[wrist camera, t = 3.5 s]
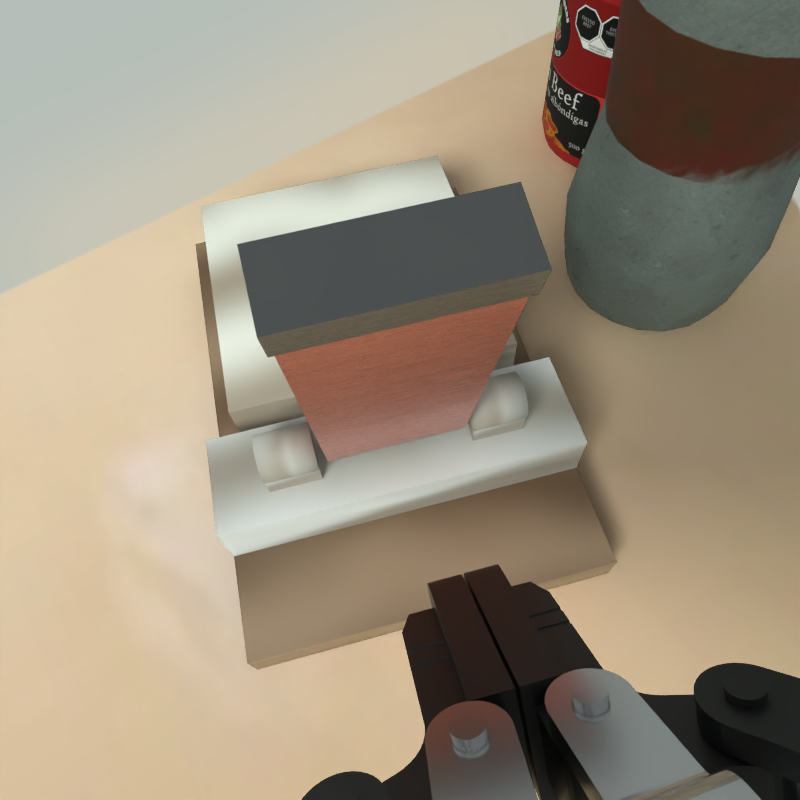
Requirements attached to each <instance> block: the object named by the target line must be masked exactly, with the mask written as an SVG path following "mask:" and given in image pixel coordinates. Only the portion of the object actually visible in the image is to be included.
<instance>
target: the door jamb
mask: <svg viewBox="0 0 800 800" xmlns="http://www.w3.org/2000/svg"><path fill="white" fill-rule="evenodd" d="M455 196H459V195H458V193H457V191H456V188H451V187H450V185H449V182H448V180H447V178H446V175H445V173H444V171H443V168H442V166H441V164H440V161H439V159H438V157H437V156H434V157H429V158H425V159H420V160H415V161H411V162H406V163H401V164H397V165H392V166H387V167H383V168H378V169H373V170H368V171H364V172H359V173H354V174H350V175H345V176H340V177H336V178H331V179H326V180H322V181H317V182H312V183H308V184H303V185H298V186H293V187H289V188H284V189H279V190H275V191H270V192H265V193H261V194H256V195H251V196H247V197H242V198H237V199H233V200H228V201H223V202H218V203H214V204H209V205H204V206H201V212H202V219H203V227H204V234H205V242H203V243H199V244H196V252H197V260H198V268H199V276H200V284H201V292H202V300H203V308H204V316H205V325H206V333H207V341H208V349H209V357H210V365H211V373H212V381H213V389H214V397H215V405H216V413H217V421H218V430H219V438H214V439H210V440H206V445H207V454H208V463H209V472H210V481H211V490H212V499H213V508H214V517H215V526H216V535H217V538H218V539H219V540H220V541H221V543H222V544H223V545H224V546H225V547H226V548H227V549H228V550H229V551H230V552H231V553H232V555H233V556H234V559H235V567H236V575H237V583H238V591H239V599H240V607H241V615H242V623H243V631H244V639H245V648H246V656H247V663H248V664H250V665H251V666H253V667H255V668H256V669H260V668H264V667H268V666H271V665H275V664H279V663H282V662H286V661H289V660H293V659H297V658H300V657H304V656H308V655H311V654H315V653H319V652H322V651H326V650H330V649H333V648H337V647H340V646H344V645H348V644H351V643H355V642H359V641H362V640H366V639H370V638H373V637H377V636H380V635H384V634H388V633H391V632H395V631H399V630H402V629H404V626H405V623H406V620H407V618H408V615H409V614H412V613H416V612H420V611H423V610H427V609H431V608H432V605H431V601H430V596H429V592H428V587H427V583H429V582H433V581H437V580H440V579H444V578H448V577H452V576H455V575H459V574H462V576H463V574H464V573H466V572H470V571H474V570H477V569H481V568H485V567H488V566H492V565H496V564H498V565H499V566H500V567H501V569H502V571H503V572H504V574H505V576H506V578H507V579H508V581H509V583H510V584H511V586H515V585H518V584H522V583H526V582H529V581H531V582H532V583H534V584H536V585H538V586H539V587H541V588H543V589H545V590H548V589H551V588H555V587H559V586H562V585H566V584H570V583H573V582H577V581H581V580H584V579H588V578H592V577H595V576H599V575H602V574H606V573H608V572H609V571H610V570H611V569H612V567H613V566H614V565H615V564H616V563H617V561H616V559H615V556H614V554H613V552H612V549H611V547H610V545H609V542H608V540H607V538H606V536H605V533H604V531H603V529H602V526H601V524H600V522H599V519H598V517H597V515H596V512H595V510H594V508H593V505H592V503H591V501H590V498H589V496H588V494H587V492H586V489H585V487H584V485H583V482H582V480H581V478H580V475H579V473H578V471H577V468H576V467H577V465H578V462H579V460H580V458H581V456H582V454H583V451H584V449H585V447H586V445H587V440H586V438H585V435H584V433H583V431H582V429H581V427H580V424H579V422H578V420H577V418H576V416H575V413H574V411H573V409H572V407H571V404H570V402H569V400H568V398H567V396H566V393H565V391H564V389H563V387H562V385H561V382H560V380H559V378H558V376H557V374H556V371H555V369H554V367H553V365H552V362H551V360H550V358H549V357H547V358H543V359H539V360H535V361H531V362H530V360H529V357H528V355H527V353H526V350H525V348H524V346H523V343H522V341H521V339H520V336H519V334H518V332H517V330H516V327H514V329H513V331H512V333H511V335H510V337H509V339H508V341H507V343H506V345H505V347H504V349H503V351H502V353H501V355H500V357H499V359H498V361H497V363H496V366H495V368H494V370H493V372H492V374H491V376H490V378H489V380H488V382H487V384H486V386H485V388H484V390H483V392H482V394H481V396H480V398H479V400H478V402H477V404H476V406H475V408H474V410H473V412H472V414H471V417H470V419H469V421H468V423H467V425H466V427H464V428H460V429H459V430H455V431H451V432H447V433H443V434H439V435H435V436H431V437H427V438H423V439H419V440H415V441H411V442H407V443H403V444H399V445H395V446H391V447H387V448H383V449H379V450H375V451H371V452H367V453H363V454H359V455H355V456H351V457H347V458H343V459H339V460H335V461H328V460H327V459H326V457H325V455H324V453H323V451H322V449H321V447H320V445H319V443H318V441H317V439H316V437H315V435H314V433H313V431H312V429H311V427H310V425H309V423H308V421H307V419H306V417H305V415H304V413H303V411H302V409H301V407H300V405H299V403H298V401H297V400H296V398H295V396H294V394H293V392H292V390H291V388H290V386H289V384H288V382H287V380H286V378H285V376H284V374H283V372H282V370H281V368H280V366H279V364H278V362H277V360H276V358H275V356H273V357H269V358H268V357H267V355H266V354H265V352H264V350H263V348H262V346H261V344H260V343H259V341H258V339H257V336H256V331H255V326H254V322H253V317H252V312H251V307H250V303H249V298H248V293H247V289H246V284H245V279H244V275H243V270H242V265H241V260H240V256H239V251H238V246H237V244H240V243H245V242H249V241H254V240H258V239H263V238H267V237H272V236H277V235H281V234H286V233H290V232H295V231H299V230H304V229H309V228H313V227H318V226H322V225H327V224H331V223H336V222H340V221H345V220H350V219H354V218H359V217H363V216H368V215H372V214H377V213H382V212H386V211H391V210H395V209H400V208H404V207H409V206H413V205H418V204H423V203H427V202H432V201H436V200H441V199H445V198H450V197H455ZM463 578H464V576H463Z"/></svg>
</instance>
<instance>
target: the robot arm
mask: <svg viewBox="0 0 800 800" xmlns="http://www.w3.org/2000/svg"><path fill="white" fill-rule="evenodd" d="M463 576H464V578H463ZM463 576H462V574H459V575H455V576H452V577H448V578H444V579H440V580H437V581H433V582H429V583H427V587H428V592H429V596H430V601H431V605H432V608H431V609H427V610H423V611H420V612H416V613H412V614H409V615H408V618H407V620H406V623H405V626H404V629H403V631H402V634H403V638H404V642H405V646H406V650H407V655H408V659H409V663H410V667H411V671H412V675H413V679H414V683H415V687H416V692H417V696H418V700H419V704H420V708H421V712H422V716H423V720H424V724H425V737H424V741H423V744H422V747H421V749H420V751H419V752H418V754H417V755H416V757H415V758H414V759H413V760H412V761H411V763H410V764H408V765H407V766H406V767H405V768H404V769H403V770H401V771H400V772H398V773H397V774H395V775H394V776H392V777H391V778H389V779H387V780H386V781H384V782H383V783H381V782H380V781H379V780H378V779H377V778H375V777H374V776H372V775H370V774H367V773H363V772H355V771H351V772H343V773H339V774H336V775H333V776H331V777H328V778H326V779H325V780H323V781H321V782H320V783H318V784H317V785H315V786H314V787H313V788H312V789H311V790H310V791H309V792H308V793H307V794H306V795H305V796H304V797H303V799H302V800H538V798H537V795H538V797H539V800H800V678H797V677H793V676H790V675H786V674H783V673H780V672H776V671H773V670H770V669H766V668H763V667H760V666H756V665H751V664H744V663H726V664H721V665H717V666H714V667H711V668H709V669H707V670H705V671H704V672H703V673H701V674H700V675H699V677H698V678H697V679H696V682H695V684H694V695H649V694H643V693H639V692H636V690H635V689H634V688H633V687H632V686H631V685H630V684H629V683H628V682H627V681H626V680H625V679H623V678H622V677H621V676H619V675H617V674H615V673H612V672H609V671H606V670H603V668H602V667H601V666H600V664H599V663H598V661H597V660H596V658H595V657H594V655H593V654H592V653H591V651H590V650H589V648H588V647H587V645H586V644H585V643H584V641H583V640H582V638H581V637H580V635H579V634H578V632H577V631H576V630H575V628H574V627H573V625H572V624H570V622H569V620H568V618H567V617H566V615H565V614H564V612H563V611H561V609H560V607H559V605H558V604H557V602H556V601H555V599H554V598H553V597H552V595H551V594H550V592H548V591H547V590H545V589H543V588H541V587H539V586H538V585H536V584H534V583H532V582H531V581H529V582H526V583H522V584H518V585H515V586H511V584H510V583H509V581H508V579H507V578H506V576H505V574H504V572H503V571H502V569H501V567H500V566H499V565H498V564H496V565H492V566H488V567H485V568H481V569H477V570H474V571H470V572H466V573H464V574H463ZM535 790H536V791H535ZM536 792H537V795H536Z"/></svg>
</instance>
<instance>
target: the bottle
mask: <svg viewBox="0 0 800 800" xmlns="http://www.w3.org/2000/svg"><path fill="white" fill-rule="evenodd" d="M799 177H800V0H622V1H621V7H620V13H619V19H618V25H617V31H616V37H615V43H614V49H613V55H612V61H611V67H610V73H609V79H608V85H607V91H606V97H605V102H604V104H603V107H602V109H601V111H600V114H599V116H598V119H597V121H596V123H595V126H594V128H593V131H592V133H591V135H590V138H589V140H588V142H587V145H586V147H585V150H584V152H583V155H582V157H581V160H580V163H579V165H578V168H577V171H576V173H575V176H574V179H573V181H572V184H571V187H570V189H569V192H568V195H567V208H566V220H565V233H564V236H565V258H566V265H567V272H568V275H569V278H570V280H571V282H572V284H573V287H574V289H575V291H576V293H577V294H578V295H579V296H580V297H581V298H582V299H583V300H584V301H585V302H586V303H587V305H588V306H589V307H590V308H591V309H593V310H594V311H596V312H598V313H599V314H601V315H603V316H604V317H606V318H607V319H609V320H611V321H612V322H615V323H618V324H622V325H625V326H628V327H631V328H634V329H638V330H654V331H667V330H672V329H677V328H681V327H686V326H689V325H691V324H693V323H695V322H696V321H698V320H700V319H702V318H703V317H705V316H707V315H708V314H710V313H711V312H712V311H714V310H715V309H716V308H718V307H719V306H720V305H721V304H723V303H724V302H725V301H726V300H727V299H728V298H729V297H730V296H731V294H732V293H733V292H734V291H735V290H736V288H737V287H738V286H739V285H740V284H741V283H742V281H743V280H744V279H745V278H746V277H747V275H748V274H749V273H750V272H751V271H752V270H753V268H754V267H755V266H756V265H757V263H758V262H759V261H760V260H761V258H762V257H763V256H764V255H765V253H766V252H767V251H768V250H769V248H770V246H771V243H772V241H773V239H774V237H775V234H776V232H777V230H778V228H779V225H780V223H781V221H782V219H783V216H784V214H785V212H786V209H787V207H788V205H789V203H790V200H791V198H792V195H793V192H794V190H795V187H796V185H797V182H798V180H799Z"/></svg>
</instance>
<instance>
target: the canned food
mask: <svg viewBox="0 0 800 800" xmlns="http://www.w3.org/2000/svg"><path fill="white" fill-rule="evenodd" d="M621 1H622V0H561V1H560V7H559V14H558V21H557V26H556V33H555V39H554V46H553V52H552V59H551V65H550V71H549V78H548V84H547V91H546V97H545V104H544V110H543V117H542V121H543V127H544V132H545V138H546V141H547V143H548V145H549V146H550V148H551V149H552V150H553V151H554V152H555V154H556V155H558V156H559V157H560V158H562V159H563V160H564V161H566V162H568V163H570V164H571V165H573V166H575V167H578V165H579V163H580V160H581V157H582V155H583V152H584V150H585V147H586V145H587V142H588V140H589V138H590V135H591V133H592V131H593V128H594V126H595V123H596V121H597V119H598V116H599V114H600V111H601V109H602V107H603V104H604V102H605V97H606V91H607V85H608V79H609V73H610V67H611V61H612V55H613V49H614V43H615V37H616V31H617V25H618V19H619V13H620V7H621Z"/></svg>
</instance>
